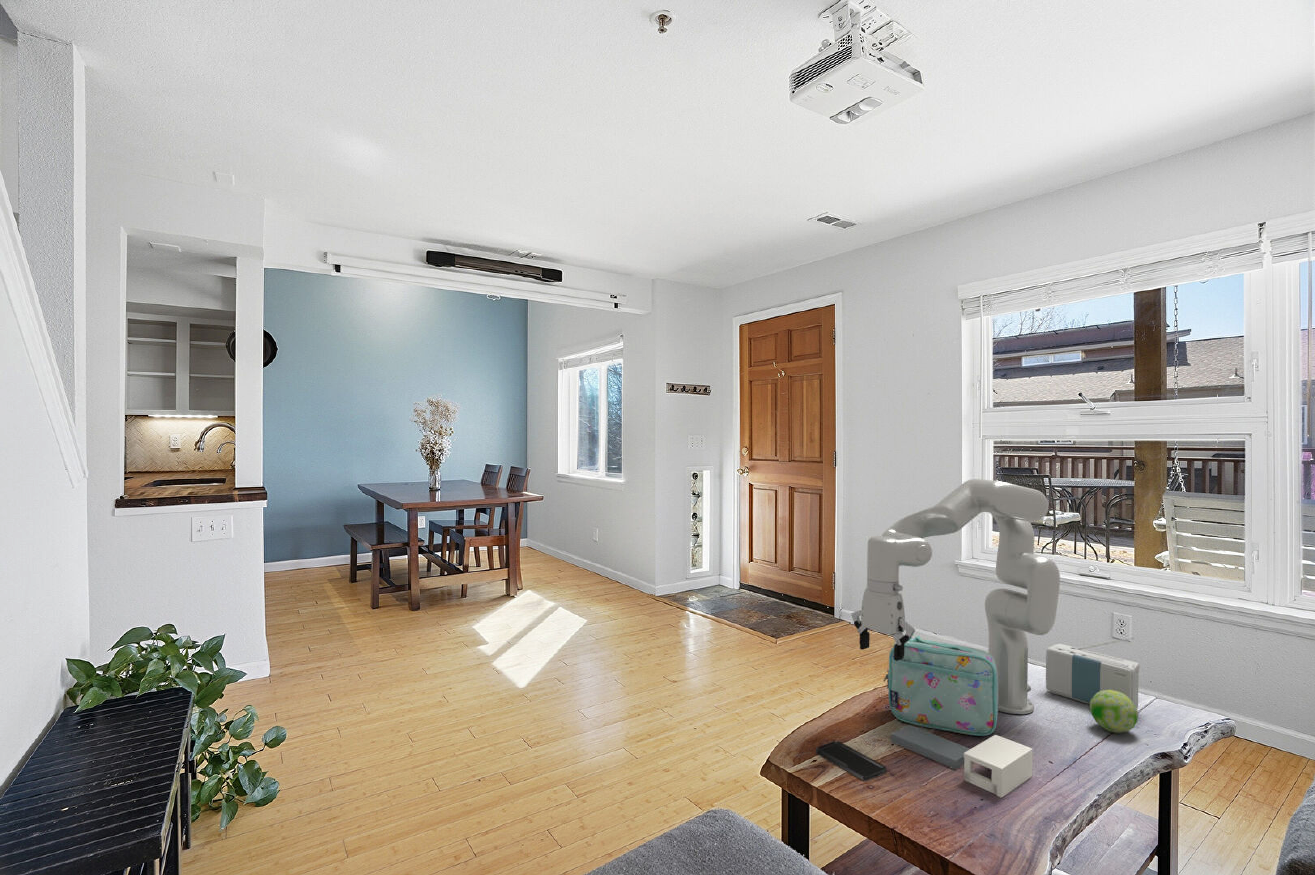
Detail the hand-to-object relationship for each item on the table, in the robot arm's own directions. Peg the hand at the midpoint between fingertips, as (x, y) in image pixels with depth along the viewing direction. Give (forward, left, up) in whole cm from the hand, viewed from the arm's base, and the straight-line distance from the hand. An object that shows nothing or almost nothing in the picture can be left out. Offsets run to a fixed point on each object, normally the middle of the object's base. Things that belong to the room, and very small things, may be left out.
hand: (881, 654), depth 162 cm
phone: (+19, +5, -20) cm, 28 cm away
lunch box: (-15, +7, -19) cm, 25 cm away
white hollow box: (-1, +28, -19) cm, 34 cm away
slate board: (-1, +13, -20) cm, 24 cm away
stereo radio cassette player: (-62, +25, -19) cm, 69 cm away
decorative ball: (-47, +35, -19) cm, 61 cm away
